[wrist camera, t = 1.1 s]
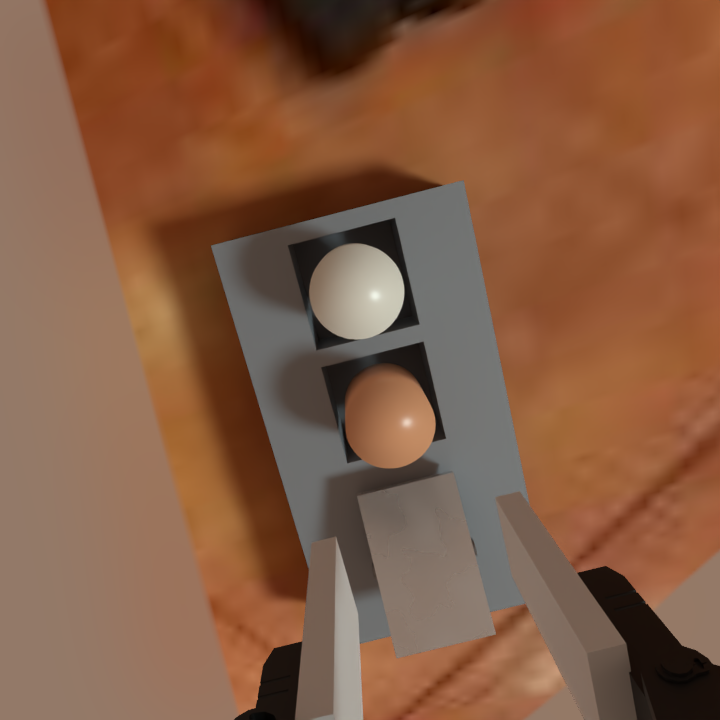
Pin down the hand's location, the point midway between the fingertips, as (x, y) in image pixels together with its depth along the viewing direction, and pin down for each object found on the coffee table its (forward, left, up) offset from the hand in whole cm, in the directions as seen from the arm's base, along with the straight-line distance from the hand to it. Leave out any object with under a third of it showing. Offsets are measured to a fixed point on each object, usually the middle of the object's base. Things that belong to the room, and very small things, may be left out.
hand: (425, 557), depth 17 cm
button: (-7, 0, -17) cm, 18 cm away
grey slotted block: (+2, 0, -21) cm, 21 cm away
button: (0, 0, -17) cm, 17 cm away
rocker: (+9, 0, -14) cm, 17 cm away
